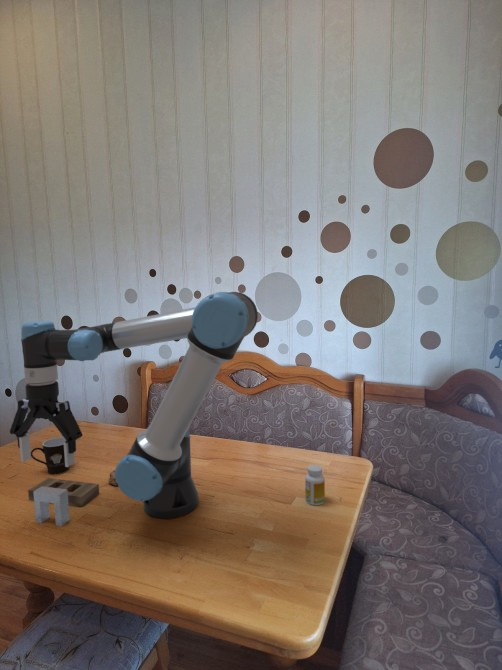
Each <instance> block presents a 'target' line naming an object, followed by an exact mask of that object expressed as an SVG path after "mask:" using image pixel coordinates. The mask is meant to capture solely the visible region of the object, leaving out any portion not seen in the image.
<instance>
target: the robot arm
mask: <svg viewBox="0 0 502 670" xmlns="http://www.w3.org/2000/svg"><path fill="white" fill-rule="evenodd" d="M258 315H259V312H258V308H257V305H256V303H255V302H254V300H253V299H252V298H251V297H249V296H248V295H247V294H245V293H242V292H239V291H229V292H228V291H217V292H214V293H211V294H209V295H207V296H206V297H204V298H202V299H201V300H200V301H199V302H198V303H197V305H196V306H195V307H191V308H185V309H184V308H183V309H180V310H179V309H178V310H173V311H168V312H163V313H157V314H152V315H148V316H143V317H142V316H141V317H137V318H131V319H127V320H121V321H117V322H110V323H104V324H103V323H102V324H99V325H95V326H88V327H82V328H76V329H56V328H55V322H53V321H50V320H48V321H47V320H44V321H43V320H42V321H41V320H39V321H37V320H36V321H28V322H24V323H22V325H21V339H20V342H21V347H22V355H23V356H22V357H23V370H24V381H25V383H26V384H25V397H26V398H23V399H20V400H18V401H17V408H16V413H15V415H14V418H13V421H12V423H11V427H10V430H9V434H10V435H15V436H16V437H17V438H16V439H17V447H18V449H19V452H20V453H19V455H20V462H21V463H25V462H26V461H28V460H31V459H32V457H31V451H32V449H31V440H30V433H29V432H28V431H29V430H30V429H31V427H32V426H33V424H34V423H35V422H36V420H37V419H38V420H41V419H43V420H48V421H49V422H51V423H53V425H54V426H55V428H56V429H57V430H58V431H59V433H60V434H61V436H62V435H63V436H62V437H64V438H65V439H66V441H65V442H64V455H65V467H69V468H70V466H72V465H74V464H75V463H76V461H75V460H76V459H75V457H76V456H75V453H76V451H77V444H76V440H77V439H79V438H81V437H83V432H82V431H81V428H80V426H79V424H78V422H77V420H76V418H75V416H74V414H73V411H72V410H71V406H70V405H71V404H70V401H68V400H66V401H63V402H59V399H58V398H59V395H60V388H59V382H58V381H57V380H58V379H59V374H58V372H59V371H58V362H57V361H59V360H60V361H79V362H84V361H94V360H97V359H98V357H99V356H100V355H101V354H103V353H107V352H113V351H119V350H123V349H130V348H137V347H142V346H147V345H148V346H149V345H154V344H159V343H166V342H172V341H177V340H178V341H179V340H183V339H184V340H185V339H186V340H187V343H188V345H189V347H188V349H187V351H186V353H185V355H184V356H183V359H182V361H181V363H180V364H179V366H178V369H177V371H176V372H175V375H174V376H173V378H172V380H171V383H170V384H169V387H168V388H167V390H166V392H165V394H164V396H163V398H162V400H161V402H160V404H159V406H158V408H157V410H156V412H155V414H154V416H153V417H152V420H151V422H150V423H149V425H148V427H147V428H146V429H143V430H140V431H139V433H138V434H137V436H136V437H135V440H134V442H133V443H132V445H131V446H130V447H131V448H130V449H129V450H128V451H129V452H127V454H126V455H125V456H123V457H122V458H121V459H120V460H119V462H118V463H117V465H116V467H115V469H114V470H115V479H116V482H117V483H118V486H117V487H118V488H119V490H120V491H121V492H122V493H123V494H124V495H125V496H126V497H128V498H129V499H132V500H134V501H137V502H143V511H144V513H146V515H149V516H150V517H153V518H158V519H174V518H179V517H182V516H185V515H187V514H190V513H191V512H193V511H195V509H197V506H199V493H198V490H197V487H196V484H195V482H194V480H193V477H192V465H191V464H192V461H191V435H190V426H191V424H192V422H193V420H194V419H195V417H196V415H197V413H198V411H199V409H200V408H201V405H202V404H203V402H204V399H205V398H206V396H207V394H208V393H209V390H210V389H211V387H212V385H213V383H214V380H215V379H216V377H217V375H218V373H219V371H220V369H221V367H222V366H223V364H224V363H226V362H230V361H232V360H233V359H234V357H235V355H236V353H237V351H238V349H239V348H240V346H241V343H242V341H243V340H244V339H245V337H247V336H248V335H250V334H251V333H252V331H254V329H255V327H256V325H257V324H258V319H259V316H258ZM28 410H30V411H29V412H28ZM28 433H29V434H28ZM69 435H70V436H69Z"/></svg>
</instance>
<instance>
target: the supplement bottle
mask: <svg viewBox="0 0 502 670" xmlns="http://www.w3.org/2000/svg"><path fill="white" fill-rule="evenodd" d="M304 479H305V480H304V481H305V482H304V485H305V487H304V490H305V491H304V493H305V502H306V503H308V504H309V505H313V506H319V505H320V506H321V505H323V504H324V503H325V498H326V497H325V494H326V493H325V491H326V490H325V487H326V486H325V485H326V483H325V481H326V480H325V476H324V475H323V467H322V466H320V465H316V464H314V465H313V464H311V465H308V467H307V474H306V475H305V478H304Z"/></svg>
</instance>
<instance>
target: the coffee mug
mask: <svg viewBox="0 0 502 670" xmlns="http://www.w3.org/2000/svg"><path fill="white" fill-rule="evenodd" d="M65 441H66V439H65V438H64V437H63V436H59V437H54V438H50V439H47V440H45V441H43V442H42V447H35V448H33V449H31V459H33V460H34V461H36V462H38V463H41V464H43V465H45V467H47V472H48V474H50V475H60V474H63V473H65V472H67V471H69V470H70V466H69V467H65V455H64V442H65ZM37 450H39V451H41V452H42V453H43V454H44V458H45V461H44V460H40V459H38V458H36V456H34V455H33V452H35V451H37Z"/></svg>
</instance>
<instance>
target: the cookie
mask: <svg viewBox="0 0 502 670" xmlns="http://www.w3.org/2000/svg"><path fill="white" fill-rule="evenodd" d="M108 484H110V485H112V486H116V487H118V483H117V482H116V479H115V469H114V470H112V471H111V472H110V473H109V478H108Z"/></svg>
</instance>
